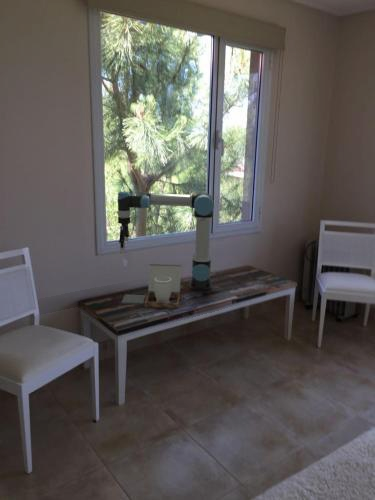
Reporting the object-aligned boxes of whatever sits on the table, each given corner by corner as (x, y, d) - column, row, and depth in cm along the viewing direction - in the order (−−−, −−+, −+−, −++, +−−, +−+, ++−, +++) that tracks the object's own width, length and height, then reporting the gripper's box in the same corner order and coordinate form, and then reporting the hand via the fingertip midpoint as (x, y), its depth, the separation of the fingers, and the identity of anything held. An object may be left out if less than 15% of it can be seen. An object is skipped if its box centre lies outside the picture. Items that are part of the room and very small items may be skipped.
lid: (179, 292, 262) (179, 292, 263) (180, 265, 262) (180, 265, 263) (148, 291, 263) (148, 290, 264) (149, 263, 263) (149, 263, 264)
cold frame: (179, 297, 263) (179, 293, 262) (178, 308, 247) (178, 303, 246) (148, 296, 264) (148, 291, 263) (144, 306, 247) (144, 302, 247)
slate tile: (145, 296, 263) (145, 295, 263) (142, 304, 250) (142, 303, 250) (125, 296, 263) (125, 294, 263) (121, 303, 251) (121, 302, 250)
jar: (168, 306, 249) (169, 282, 245) (152, 304, 251) (152, 280, 247) (172, 299, 259) (173, 277, 255) (156, 298, 261) (157, 275, 257)
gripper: (121, 213, 271) (122, 244, 276) (113, 220, 246) (114, 254, 252) (133, 213, 270) (133, 245, 276) (126, 220, 246) (126, 255, 252)
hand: (124, 249), depth 264 cm, fingers open, 13 cm apart
